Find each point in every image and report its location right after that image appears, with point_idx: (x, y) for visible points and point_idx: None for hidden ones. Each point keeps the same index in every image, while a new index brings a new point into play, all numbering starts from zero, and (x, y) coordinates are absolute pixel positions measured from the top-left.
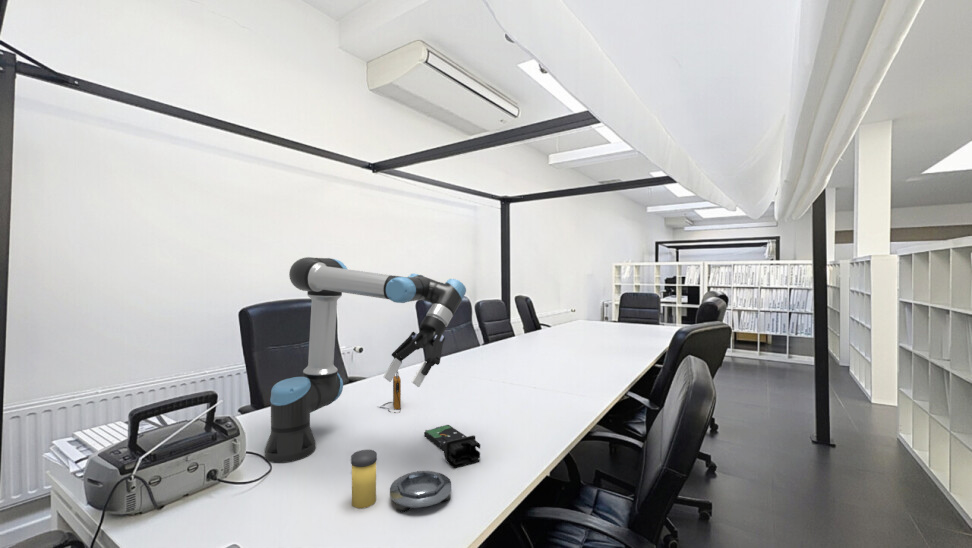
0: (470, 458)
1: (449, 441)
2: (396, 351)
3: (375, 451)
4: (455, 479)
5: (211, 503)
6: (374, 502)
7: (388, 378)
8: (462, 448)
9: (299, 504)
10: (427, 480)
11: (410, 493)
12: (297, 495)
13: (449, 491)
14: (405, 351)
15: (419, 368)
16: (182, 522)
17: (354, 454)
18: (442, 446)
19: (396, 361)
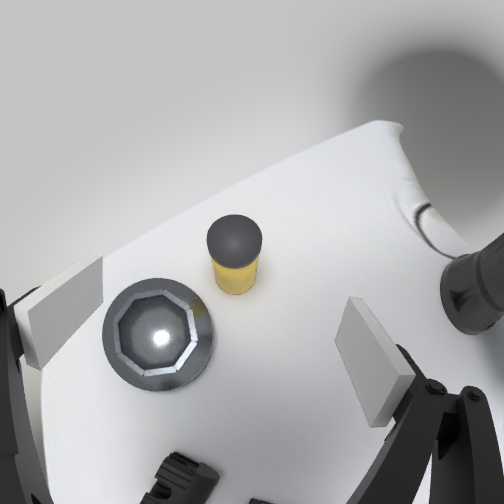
0: (159, 486)
1: (193, 480)
2: (471, 415)
3: (227, 262)
4: (145, 418)
5: (391, 172)
6: (216, 281)
7: (343, 324)
8: (155, 475)
9: (311, 220)
10: (156, 355)
11: (147, 294)
12: (337, 230)
13: (104, 347)
14: (383, 455)
15: (56, 285)
16: (369, 146)
17: (254, 229)
18: (254, 502)
19: (384, 377)
